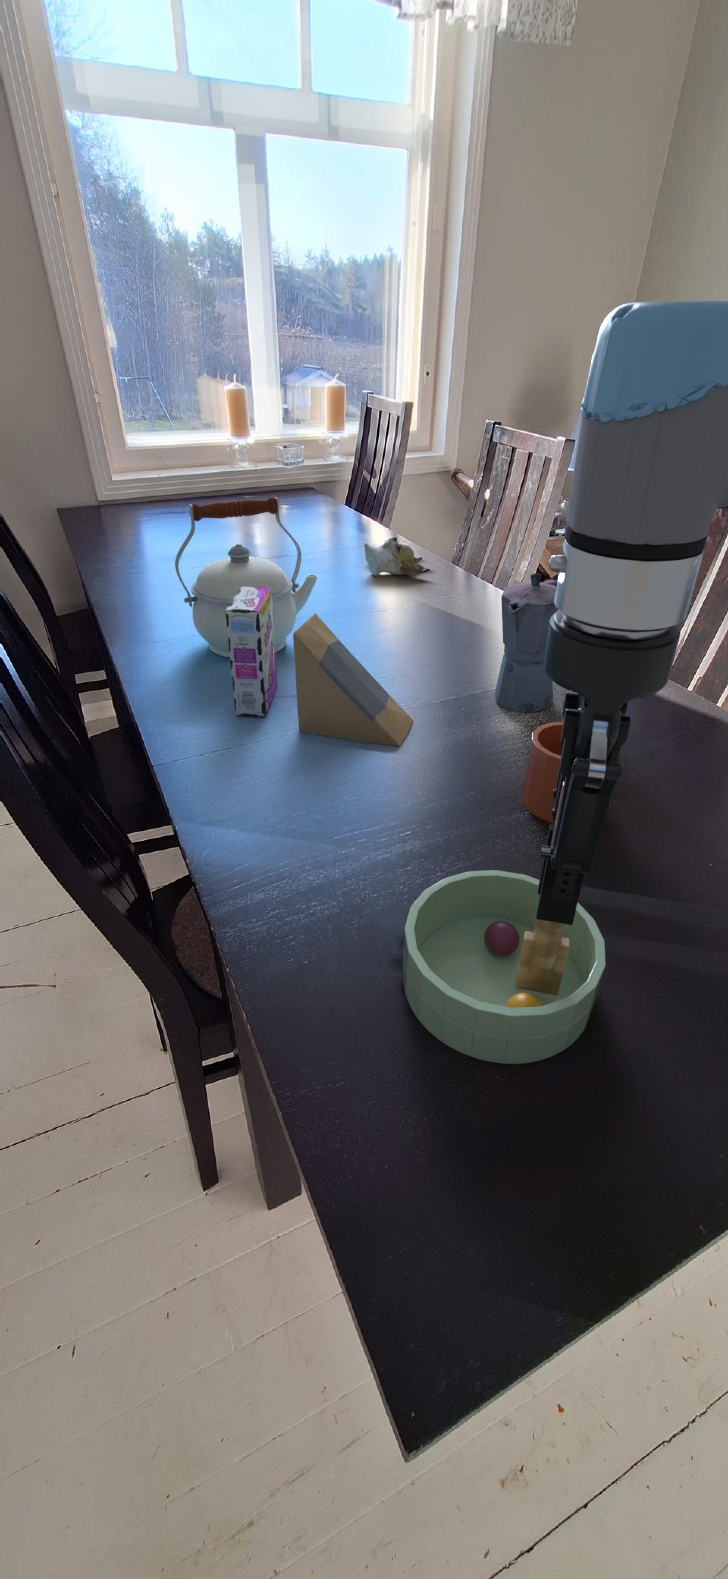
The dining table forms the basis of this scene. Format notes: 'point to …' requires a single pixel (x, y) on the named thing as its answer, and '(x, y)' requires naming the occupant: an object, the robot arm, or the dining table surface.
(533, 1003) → the bead
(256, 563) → the kettle
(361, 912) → the dining table surface
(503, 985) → the bowl
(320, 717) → the sandwich container
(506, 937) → the bead
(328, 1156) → the dining table surface
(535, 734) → the crock
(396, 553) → the ceramic sculpture
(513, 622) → the moka pot
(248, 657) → the candy bar box
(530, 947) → the wooden stirring stick
